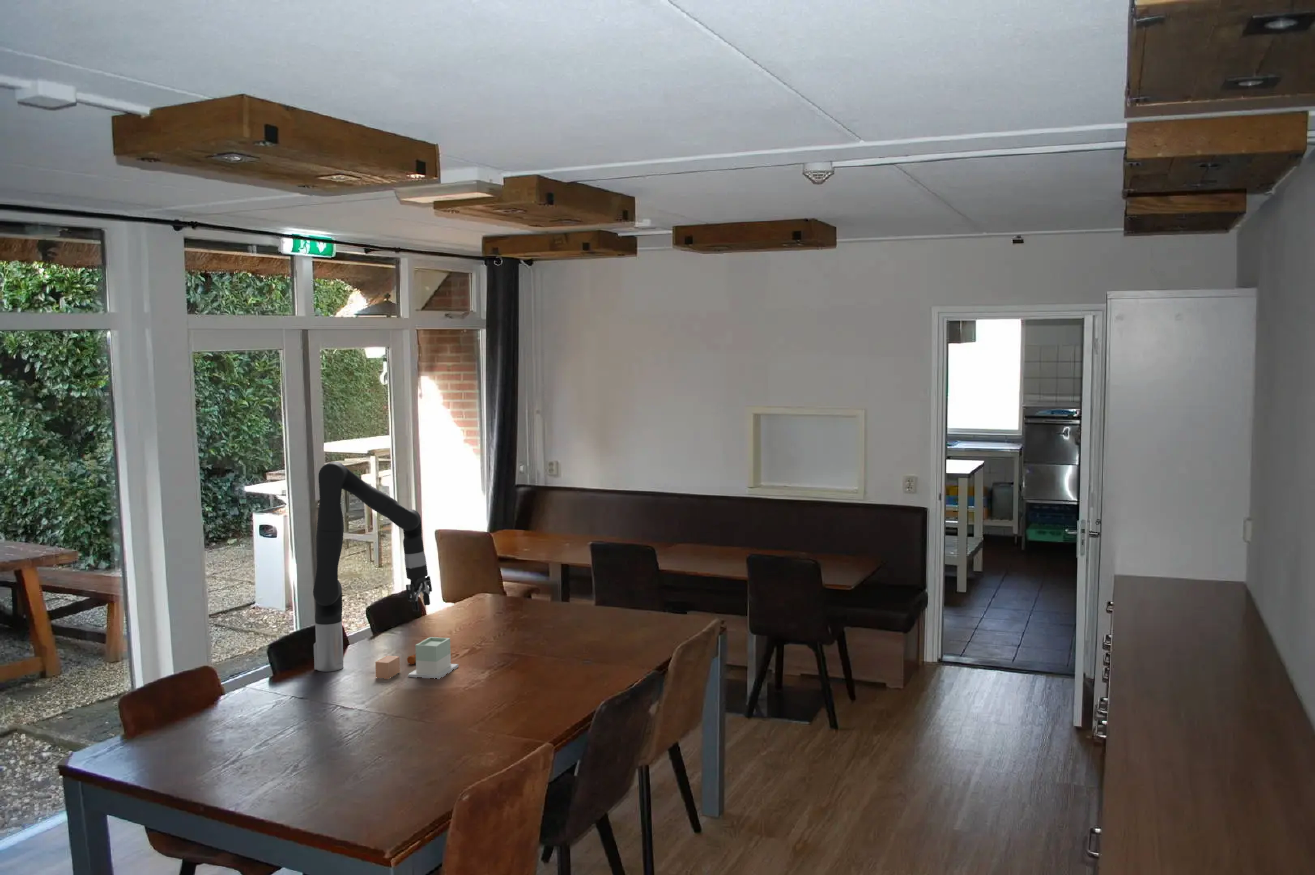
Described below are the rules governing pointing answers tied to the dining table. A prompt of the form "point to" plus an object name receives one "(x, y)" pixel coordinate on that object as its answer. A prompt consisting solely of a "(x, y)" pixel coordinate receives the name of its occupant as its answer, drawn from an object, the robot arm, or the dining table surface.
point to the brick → (387, 667)
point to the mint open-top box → (433, 658)
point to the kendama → (412, 659)
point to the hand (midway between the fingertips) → (421, 608)
